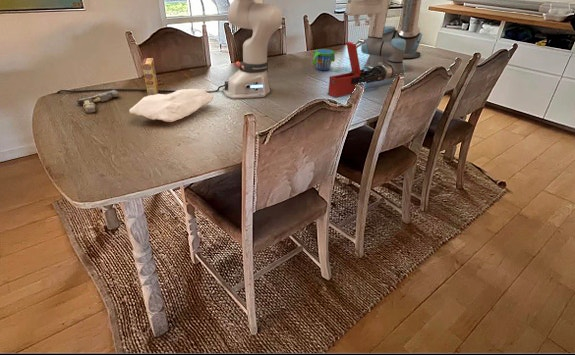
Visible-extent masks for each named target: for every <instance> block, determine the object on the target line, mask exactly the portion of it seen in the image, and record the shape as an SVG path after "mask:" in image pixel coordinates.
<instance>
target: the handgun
mask: <svg viewBox="0 0 575 355" xmlns="http://www.w3.org/2000/svg"><path fill="white" fill-rule="evenodd" d="M119 96H120V94H119V92H118V91H115V90H112V91H103V92H101V93H96V94H94V95H86V94H85V95H84V94H83V95H81V96H80V97H77V98H76V101H77V104H78V105H82V108H83V109H84V110H85V113H87V114H91V113H95V112H96V104H95V103H98V102H106V101H109V100H111V99H113V98H117V97H119Z"/></svg>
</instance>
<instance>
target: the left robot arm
mask: <svg viewBox="0 0 575 355" xmlns="http://www.w3.org/2000/svg"><path fill="white" fill-rule="evenodd" d="M383 5H384V0H346V6H345V10H344V11H345V15H346V16H351V17H352V16H353V19H354V26H356V27H360V26H361V21H360V19H359V18H360V16H365V15H366V16H367V18H366V19H365V20H364V25H365V26H370V22H371V19H372V17H373V14H380V13H381V12H382V10H383ZM226 13H227V19H228V21H229V23H230V25H233V26H235V27H237V28H239V29H246V30H251V31H252V34H251V35H252V36H251V37H249V38H247V39H246V40H245V41H244V42H243V44H242V59H243V60H242V61H236V62H235V65H236V66H237V67H239V69H237V71H236V72H235V73H234V74H232V75H231V76H230V77H229V78H228V81H227V80H225V81H224V84H223V85H220V86H218V88H217V89H215V90H211V91H209V90H207V91H206V90H205V91H206V92H208V93H210V94H212V93H217V92H219V91H220V89H221V88H223V91H222V92H223V94H224V95H225V96H226V97H228V98H230V99H233V100H236V99H237V100H238V99H239V100H240V99H253V98H254V99H255V98H264V97H266V95H268V94H269V93H270V92H271V88H270V84H269V78H268V76H269V75H268V72H269V61H268V47H269V41H270V39H271V38H272V36H273V34H274V33H275V32H277V31H278V30H279V29H280V28H281V26H282V23H283V13H282V11H281V9H280V8H279V7H278V6H276V5H274V4H273V5H272V4H271V3H264V2H263V3H262V2H256V1H255V0H233V1H232V2H231V3H230V4H229V6H228V7H227V12H226ZM112 90H115V91H117V92H118V91H120V92H121V91H123V92H124V91H128V92H129V91H137V92H147V88H146V89H145V88H143V89H141V88H140V89H139V88H102V89H101V88H99V89H98V88H97V89H84V90H83V89H80V90H69V89H59V90H57V91H56V93H55V94H57V95H58V94H59V93H62V92H66V93H85V92H86V93H87V92H108V91H112ZM158 90H159V92H161V93H162V92H163V93H173V92H175V91H176V90H167V89H166V90H165V89H158ZM159 92H158V93H159Z"/></svg>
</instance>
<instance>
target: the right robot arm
mask: <svg viewBox="0 0 575 355" xmlns="http://www.w3.org/2000/svg"><path fill="white" fill-rule="evenodd" d="M390 3H391V0H384V5H383V10H382V12H381V13H380V14H373V17H372V19H371V21H370V24H369V28H368V34H367V38H363V39H364V40H366V43H365V44H362V45H361V47H360V49H361V53H362V54H365V55H369V56H368V57H367V60H366V61H365V65H364V66H365V68H366V69H367V70H365V68H360V71H361V73H360V74H359V75H360V77H356V78H352V81H351V84H356V83H359V84H360V83H366V84H371V83H375V82H381V81H385V80H389V79H395V78H396V77H395V76H396V74H400V73H402V74H403V75H404V74H405V73H406V65H405V63H404V62H403V61H404V58H403V57H404V53H405V54H415V53H416V52H418V48H419V47H420V46H419V45H420V43H421V40H422V37H423V33H422V32H420V30H421V28H420V27H419V26H418V24H419V18H420V11H421V6H422V0H403V5H402V12H401V23H400V26H398V28H397V29H396V26H392V25H386V22H387V19H388V18H387V17H388V12H389V7H390ZM351 72H352V70H351V71H350V72H349V73H351ZM353 73H355V72H353ZM356 74H357V73H356Z"/></svg>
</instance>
